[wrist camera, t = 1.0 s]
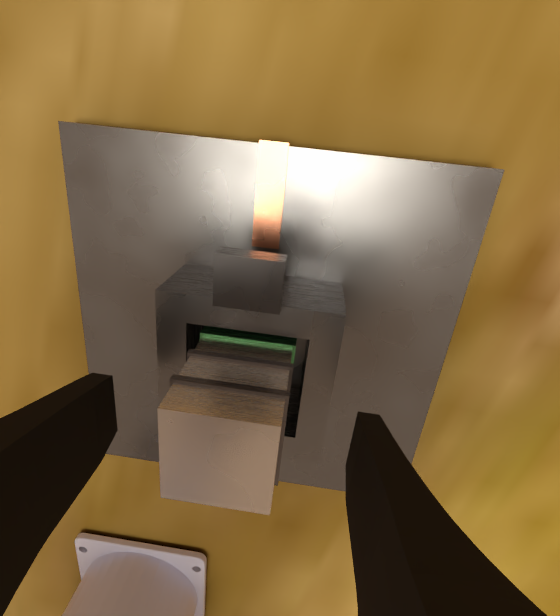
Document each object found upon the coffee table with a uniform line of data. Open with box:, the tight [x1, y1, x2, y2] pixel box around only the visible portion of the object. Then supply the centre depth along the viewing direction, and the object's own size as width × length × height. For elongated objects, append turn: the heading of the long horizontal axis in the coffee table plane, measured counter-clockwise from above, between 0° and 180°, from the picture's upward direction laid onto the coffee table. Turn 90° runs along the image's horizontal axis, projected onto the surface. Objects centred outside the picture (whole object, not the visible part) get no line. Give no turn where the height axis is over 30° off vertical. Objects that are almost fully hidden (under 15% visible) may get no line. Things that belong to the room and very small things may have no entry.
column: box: [157, 326, 297, 515], centre depth 13 cm, size 3×3×6 cm
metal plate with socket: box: [58, 121, 504, 491], centre depth 15 cm, size 15×15×5 cm
